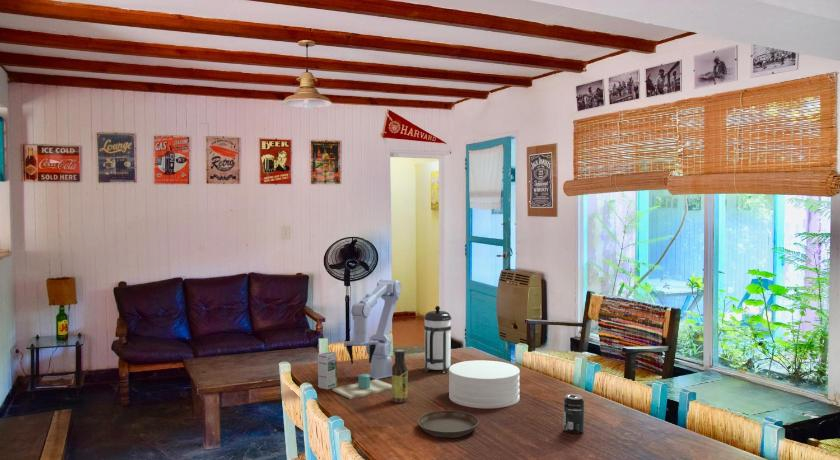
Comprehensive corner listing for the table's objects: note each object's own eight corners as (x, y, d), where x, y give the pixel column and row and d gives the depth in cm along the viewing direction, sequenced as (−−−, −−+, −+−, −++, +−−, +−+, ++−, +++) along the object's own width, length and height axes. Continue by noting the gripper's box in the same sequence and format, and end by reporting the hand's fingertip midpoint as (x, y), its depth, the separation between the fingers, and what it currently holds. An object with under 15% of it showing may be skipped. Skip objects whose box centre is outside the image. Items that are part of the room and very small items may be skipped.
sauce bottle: (405, 403, 240) (405, 352, 239) (390, 402, 241) (389, 352, 241) (409, 398, 246) (409, 349, 246) (394, 397, 248) (393, 348, 247)
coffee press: (414, 368, 293) (414, 304, 292) (444, 364, 299) (444, 302, 298) (430, 377, 277) (430, 310, 276) (461, 373, 284) (462, 307, 283)
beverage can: (568, 426, 216) (569, 391, 215) (587, 430, 211) (587, 395, 211) (559, 431, 210) (560, 396, 210) (578, 436, 206) (579, 400, 206)
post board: (376, 381, 271) (376, 370, 271) (395, 388, 260) (395, 376, 260) (332, 390, 257) (332, 378, 257) (350, 398, 246) (350, 386, 246)
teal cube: (358, 385, 261) (358, 374, 260) (369, 385, 261) (369, 373, 261) (358, 389, 256) (358, 377, 256) (370, 388, 256) (370, 376, 256)
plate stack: (437, 402, 243) (437, 373, 242) (465, 383, 268) (465, 357, 267) (505, 413, 230) (505, 382, 229) (528, 392, 255) (528, 365, 254)
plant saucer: (428, 443, 200) (428, 433, 200) (411, 422, 220) (411, 413, 220) (487, 437, 206) (487, 427, 206) (465, 416, 226) (465, 407, 226)
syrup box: (327, 389, 259) (327, 355, 258) (317, 387, 262) (317, 353, 262) (337, 386, 263) (337, 352, 263) (327, 384, 267) (327, 350, 266)
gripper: (343, 333, 260) (344, 365, 261) (378, 332, 262) (378, 364, 263) (343, 330, 267) (343, 361, 268) (377, 329, 269) (377, 360, 270)
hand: (361, 362), depth 266 cm, fingers open, 7 cm apart
